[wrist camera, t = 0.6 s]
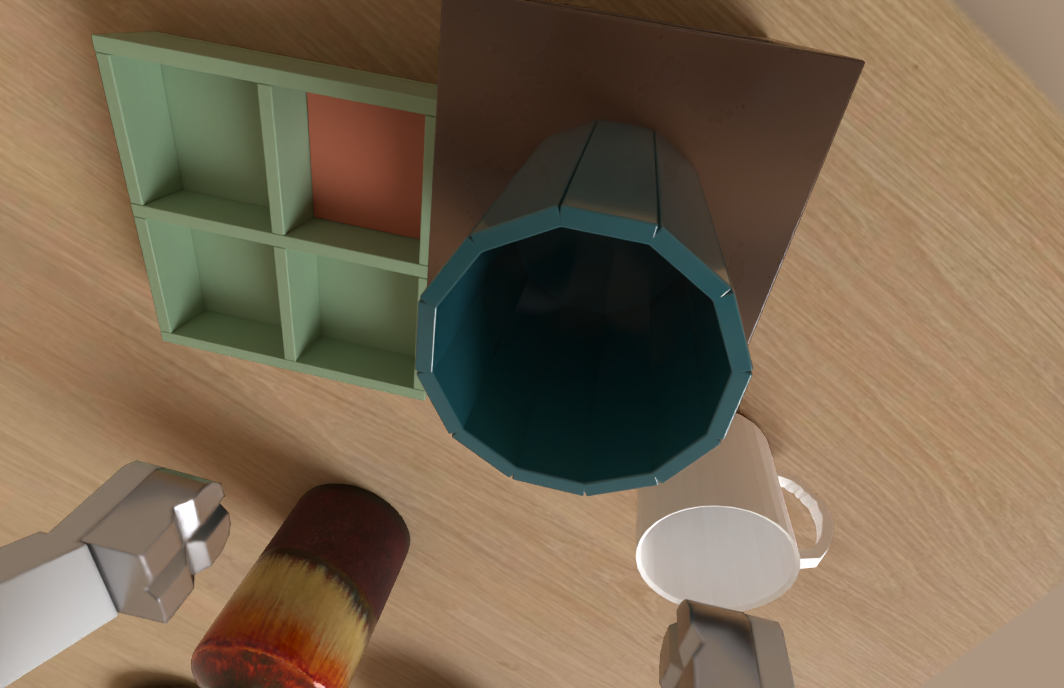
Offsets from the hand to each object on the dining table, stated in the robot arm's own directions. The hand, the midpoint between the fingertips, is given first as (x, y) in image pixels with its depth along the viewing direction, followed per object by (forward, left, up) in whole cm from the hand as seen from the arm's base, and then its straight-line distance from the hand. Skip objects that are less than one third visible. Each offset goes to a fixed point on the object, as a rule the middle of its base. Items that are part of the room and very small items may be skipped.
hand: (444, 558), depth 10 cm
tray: (+6, -17, -26) cm, 32 cm away
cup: (-2, +1, -12) cm, 13 cm away
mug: (+18, +13, -27) cm, 35 cm away
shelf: (-2, +1, -26) cm, 26 cm away
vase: (+35, -15, -27) cm, 46 cm away
